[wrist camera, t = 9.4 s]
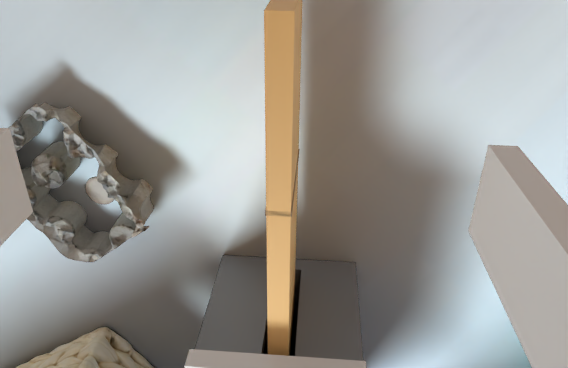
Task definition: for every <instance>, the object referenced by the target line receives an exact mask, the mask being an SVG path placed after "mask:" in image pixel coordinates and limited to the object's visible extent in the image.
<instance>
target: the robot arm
mask: <svg viewBox="0 0 568 368" xmlns="http://www.w3.org/2000/svg"><path fill="white" fill-rule="evenodd" d="M32 213H33V210H32V206H31V203H30V199H29V195H28V192H27V188H26V185H25V181H24V178H23V174H22V171H21V167H20V164H19V160H18V157H17V153H16V150H15V146H14V142H13V139H12V135H11V132H10V128H0V246H1V245H2V244H3V243H4V242H5V241H6V240H7V239H8V238H9V236H10V235H11V234H12V233H13V232H14V231H15V230H16V229H17V228H18V227H19V226H20V225H21V224H22V223H23V222H24V221H25V220H26V219H27V218H28V217H29V216H30V215H31V214H32ZM468 231H469V234H470V236H471V238H472V240H473V242H474V244H475V246H476V249H477V251H478V253H479V255H480V257H481V259H482V261H483V264H484V266H485V268H486V270H487V272H488V274H489V276H490V279H491V281H492V283H493V285H494V287H495V289H496V292H497V294H498V296H499V298H500V300H501V302H502V304H503V307H504V309H505V311H506V313H507V315H508V317H509V319H510V322H511V324H512V326H513V328H514V330H515V332H516V334H517V337H518V339H519V341H520V343H521V345H522V347H523V349H524V352H525V354H526V356H527V358H528V360H529V362H530V364H531V367H532V368H568V205H567V204H566V202H565V201H564V200H563V199H562V198H561V196H560V195H559V194H558V193H557V192H556V191H555V189H554V188H553V187H552V186H551V185H550V183H549V182H548V181H547V180H546V179H545V178H544V176H543V175H542V174H541V173H540V172H539V171H538V169H537V168H536V167H535V166H534V165H533V163H532V162H531V161H530V160H529V159H528V158H527V156H526V155H525V154H524V153H523V152H522V151H521V149H520V148H519V147H518V146H499V145H488V149H487V153H486V157H485V162H484V166H483V170H482V174H481V179H480V183H479V187H478V192H477V196H476V200H475V204H474V209H473V213H472V217H471V222H470V226H469V230H468Z"/></svg>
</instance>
